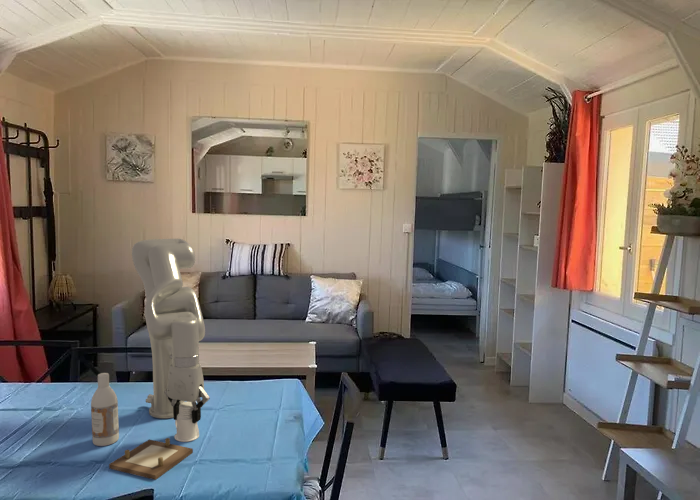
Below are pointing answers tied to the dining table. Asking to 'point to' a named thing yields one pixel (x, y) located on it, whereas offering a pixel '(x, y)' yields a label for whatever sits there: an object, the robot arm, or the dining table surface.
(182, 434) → the downlight
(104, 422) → the bath foam
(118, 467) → the pin board
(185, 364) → the robot arm
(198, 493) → the dining table surface
